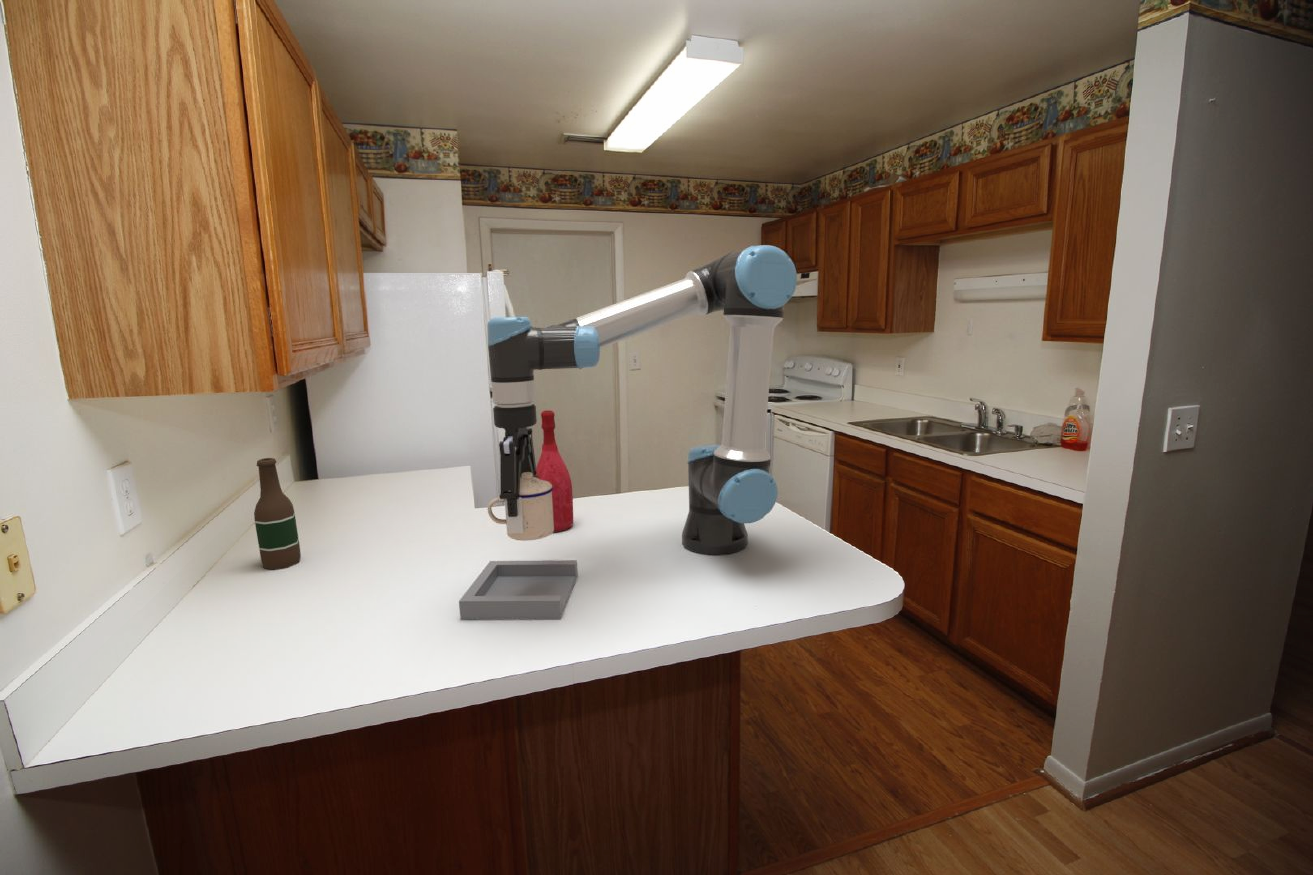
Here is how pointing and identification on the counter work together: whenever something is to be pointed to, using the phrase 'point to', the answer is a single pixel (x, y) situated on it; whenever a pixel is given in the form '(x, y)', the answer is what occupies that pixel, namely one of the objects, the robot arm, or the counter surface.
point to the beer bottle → (275, 521)
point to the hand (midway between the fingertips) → (522, 523)
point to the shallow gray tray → (520, 590)
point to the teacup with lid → (531, 509)
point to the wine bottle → (555, 475)
